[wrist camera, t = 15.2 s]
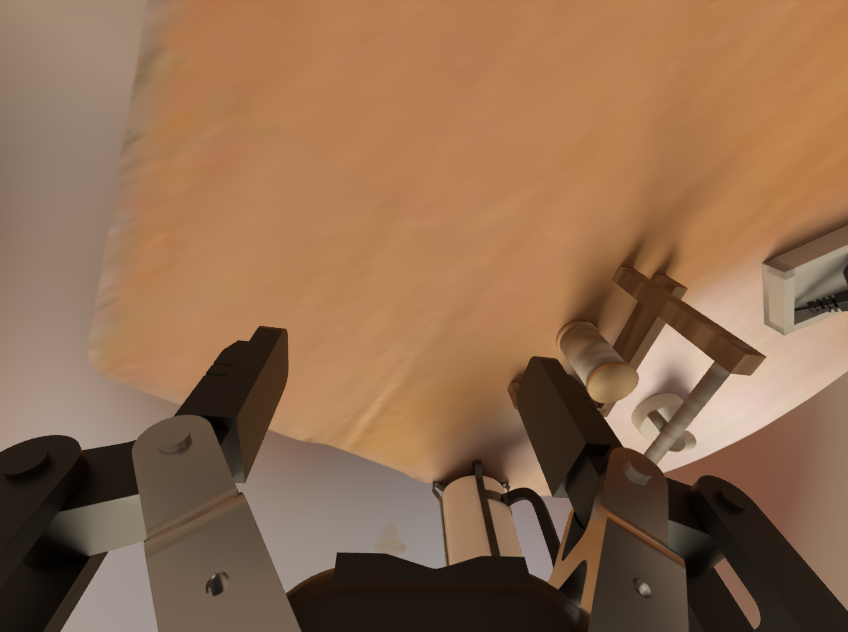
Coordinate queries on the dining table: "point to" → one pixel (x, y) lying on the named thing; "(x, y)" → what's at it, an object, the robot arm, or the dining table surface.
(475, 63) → the dining table surface
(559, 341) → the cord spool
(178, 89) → the dining table surface
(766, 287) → the plug tray
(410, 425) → the dining table surface
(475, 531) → the coffee press
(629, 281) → the wooden frame rack
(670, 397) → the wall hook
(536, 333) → the dining table surface
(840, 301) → the power plug
